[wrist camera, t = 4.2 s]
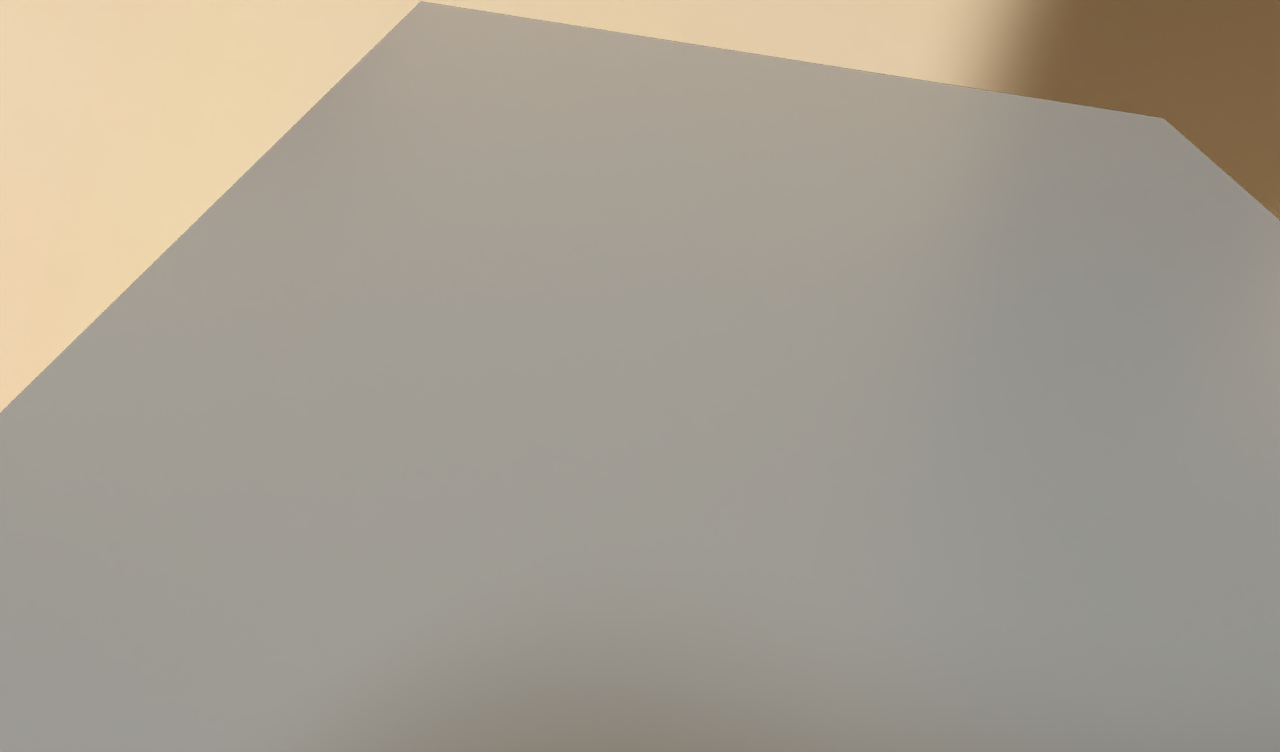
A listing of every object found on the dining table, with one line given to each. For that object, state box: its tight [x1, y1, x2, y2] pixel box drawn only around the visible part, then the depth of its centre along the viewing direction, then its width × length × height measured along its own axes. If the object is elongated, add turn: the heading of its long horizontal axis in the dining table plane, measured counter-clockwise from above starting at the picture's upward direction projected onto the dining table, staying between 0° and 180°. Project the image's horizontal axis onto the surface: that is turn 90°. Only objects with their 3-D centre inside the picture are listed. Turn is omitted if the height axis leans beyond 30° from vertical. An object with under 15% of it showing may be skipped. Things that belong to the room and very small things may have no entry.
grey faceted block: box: [0, 1, 1280, 752], centre depth 8 cm, size 8×8×9 cm
